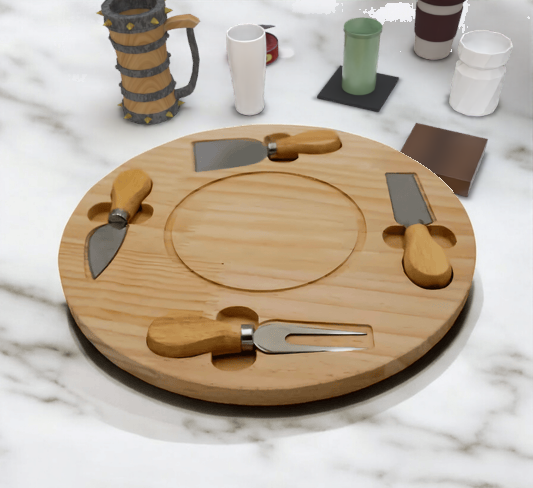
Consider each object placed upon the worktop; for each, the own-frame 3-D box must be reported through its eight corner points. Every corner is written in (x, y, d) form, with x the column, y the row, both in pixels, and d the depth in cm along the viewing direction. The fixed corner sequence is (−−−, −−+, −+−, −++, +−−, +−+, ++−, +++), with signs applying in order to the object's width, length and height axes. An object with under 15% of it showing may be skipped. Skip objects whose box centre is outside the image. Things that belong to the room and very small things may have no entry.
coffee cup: (446, 69, 128) (460, -6, 117) (399, 56, 131) (408, -17, 121) (463, 46, 133) (478, -27, 123) (417, 35, 137) (428, -37, 126)
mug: (122, 91, 126) (100, -12, 112) (211, 87, 125) (200, -15, 111) (111, 129, 116) (86, 23, 102) (207, 126, 116) (195, 19, 102)
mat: (398, 79, 125) (399, 77, 125) (378, 112, 118) (378, 109, 117) (340, 67, 129) (340, 65, 129) (317, 98, 122) (317, 95, 121)
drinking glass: (244, 123, 116) (239, 45, 106) (224, 106, 121) (218, 30, 110) (275, 110, 119) (273, 33, 108) (255, 94, 123) (251, 19, 113)
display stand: (484, 153, 108) (488, 138, 106) (467, 197, 100) (470, 181, 98) (413, 137, 112) (415, 122, 110) (392, 177, 104) (394, 162, 102)
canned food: (236, 84, 135) (209, 44, 129) (251, 56, 141) (227, 16, 135) (281, 69, 128) (255, 26, 123) (295, 40, 134) (271, -2, 128)
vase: (487, 121, 114) (502, 59, 106) (440, 107, 118) (451, 46, 110) (504, 98, 119) (520, 37, 111) (459, 85, 123) (471, 25, 115)
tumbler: (384, 87, 122) (390, 27, 114) (356, 99, 120) (360, 39, 111) (360, 73, 126) (365, 13, 118) (333, 84, 124) (335, 24, 115)
